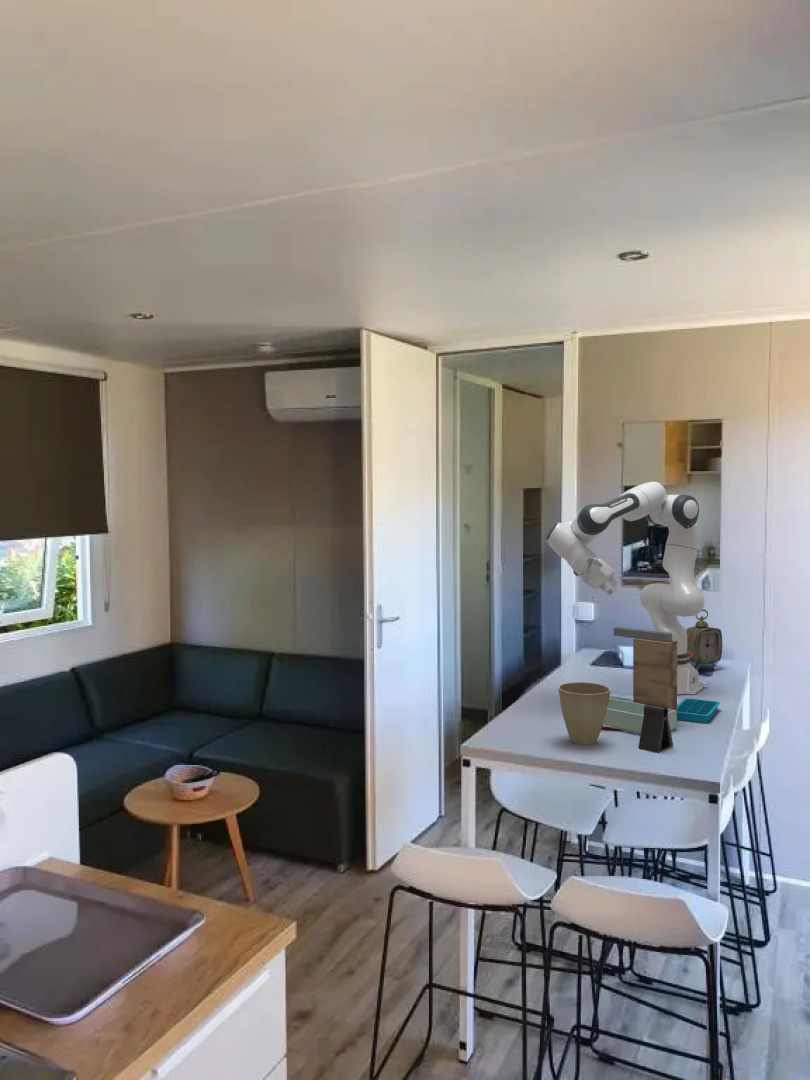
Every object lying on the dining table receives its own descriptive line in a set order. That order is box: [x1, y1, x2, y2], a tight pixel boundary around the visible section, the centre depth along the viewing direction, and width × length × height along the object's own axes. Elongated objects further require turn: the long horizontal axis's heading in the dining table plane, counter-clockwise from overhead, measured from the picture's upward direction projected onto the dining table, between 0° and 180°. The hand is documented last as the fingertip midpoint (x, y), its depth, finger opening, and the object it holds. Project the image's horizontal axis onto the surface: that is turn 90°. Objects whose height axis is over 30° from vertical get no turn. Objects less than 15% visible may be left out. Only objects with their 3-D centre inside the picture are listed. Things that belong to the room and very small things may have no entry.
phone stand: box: [637, 704, 674, 754], centre depth 238 cm, size 9×6×12 cm, turn 134°
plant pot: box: [557, 681, 611, 746], centre depth 244 cm, size 15×15×16 cm
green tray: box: [603, 697, 678, 736], centre depth 261 cm, size 13×28×6 cm, turn 45°
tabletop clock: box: [685, 608, 723, 671], centre depth 339 cm, size 14×9×25 cm, turn 119°
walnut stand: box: [632, 638, 678, 710], centre depth 265 cm, size 6×12×26 cm, turn 45°
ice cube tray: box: [677, 697, 721, 724], centre depth 273 cm, size 12×20×3 cm, turn 149°
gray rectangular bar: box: [613, 626, 672, 642], centre depth 267 cm, size 3×19×2 cm, turn 45°
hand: (615, 591), depth 280 cm, fingers open, 8 cm apart
